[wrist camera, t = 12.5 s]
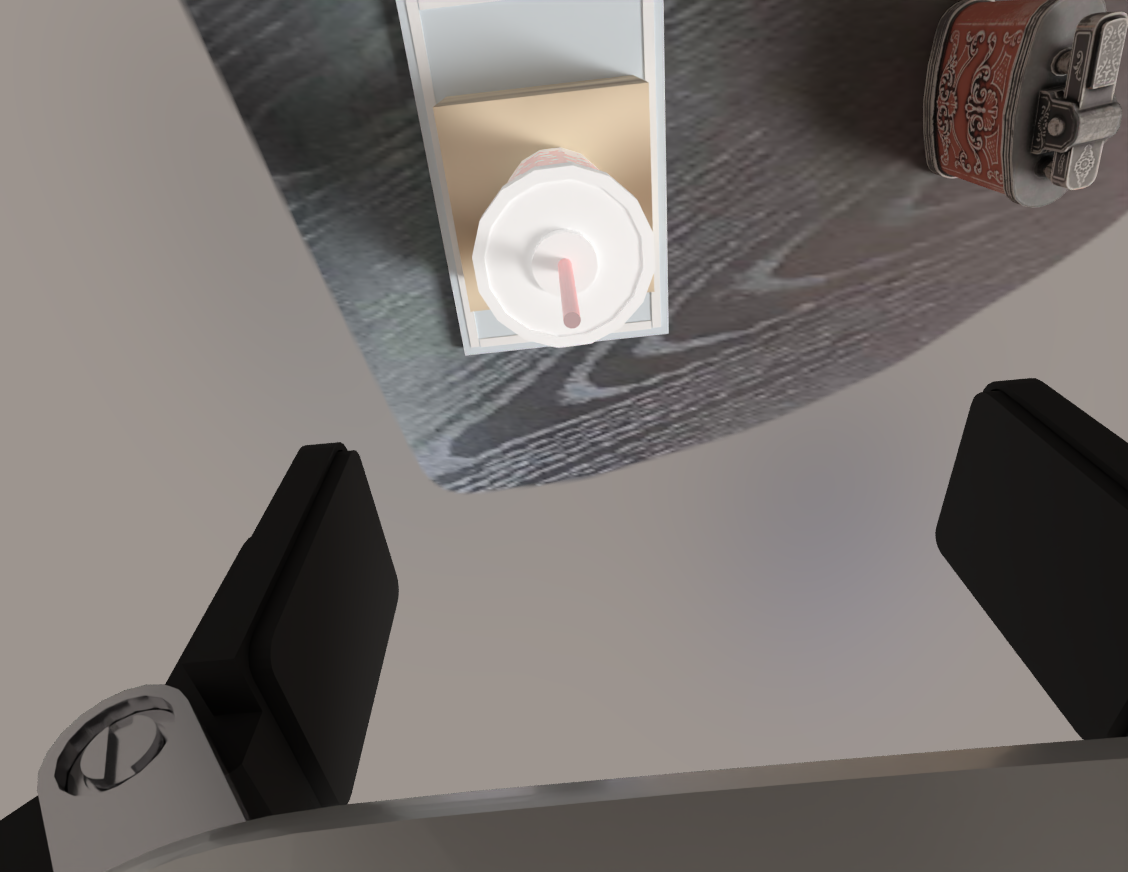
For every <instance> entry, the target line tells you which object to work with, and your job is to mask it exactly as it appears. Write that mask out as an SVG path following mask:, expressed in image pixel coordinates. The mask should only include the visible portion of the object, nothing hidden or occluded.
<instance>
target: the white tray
mask: <svg viewBox="0 0 1128 872" xmlns="http://www.w3.org/2000/svg"><path fill="white" fill-rule="evenodd" d="M396 4H397V9H398V14H399V19H400V25H401V30H402V35H403V40H404V45H405V50H406V55H407V60H408V65H409V70H410V76H411V81H412V86H413V91H414V96H415V101H416V106H417V111H418V116H419V122H420V127H421V132H422V137H423V142H424V147H425V152H426V157H427V162H428V167H429V173H430V178H431V183H432V188H433V193H434V198H435V203H436V208H437V213H438V219H439V224H440V229H441V234H442V239H443V244H444V249H445V254H446V259H447V264H448V270H449V275H450V280H451V285H452V290H453V295H454V300H455V305H456V310H457V315H458V321H459V326H460V331H461V336H462V341H463V346H464V351H465V355H474V354H483V353H493V352H502V351H511V350H520V349H530V348H539V347H548V345H544V344H540V343H536V342H532V341H528V340H525V339H523V338H522V337H520V336H519V335H518V334H516V333H515V332H513V331H512V330H510V329H509V328H508V327H506V326H505V325H503V324H502V323H500V322H499V321H498V320H497V319H496V317H495V316H494V314H493V313H492V311H491V310H482V311H473V312H470V307H469V301H468V296H467V290H466V285H465V280H464V274H463V269H462V263H461V258H460V253H459V247H458V242H457V236H456V231H455V225H454V220H453V215H452V209H451V204H450V198H449V193H448V187H447V182H446V177H445V171H444V166H443V160H442V155H441V149H440V144H439V139H438V133H437V128H436V122H435V117H434V111H433V107H434V106H435V105H436V104H438V103H439V102H440V101H441V100H443V99H444V98H445V97H447V96H456V95H465V94H473V93H482V92H491V91H499V90H508V89H517V88H525V87H534V86H543V85H551V84H560V83H569V82H577V81H586V80H595V79H603V78H612V77H621V76H629V75H634V76H636V77H638V78H640V79H643V80H645V81H647V82H649V109H650V146H651V183H652V221H653V233H654V254H655V271H654V292H647V293H646V296H645V299H644V302H643V303H642V304H641V305H640V307H639V308H638V309H637V310H636V311H635V312H634V313H633V315H632V316H631V317H630V318H629V319H628V320H627V321H626V323H625V324H624V325H623V326H622V327H621V328H620V329H618V330H616V331H614V332H612V333H610V334H608V335H606V336H604V337H603V338H601V339H599V340H597V341H604V340H613V339H622V338H632V337H641V336H650V335H660V334H669V329H668V265H667V201H666V137H665V73H664V9H663V0H396Z"/></svg>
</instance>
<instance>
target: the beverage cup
mask: <svg viewBox="0 0 1128 872" xmlns="http://www.w3.org/2000/svg"><path fill="white" fill-rule="evenodd" d="M472 260H473V265H474V270H475V275H476V281H477V286H478V291H479V293H480V295H481V296H482V298H483V299H484V301H485V302H486V304H487V305H488V307H489V308H490V310H491V311H492V313H493V314H494V316H495V317H496V319H497V320H498V321H499V322H500V323H502V324H503V325H505V326H506V327H508V328H509V329H510V330H512V331H513V332H515V333H516V334H518V335H519V336H520V337H522V338H523V339H525V340H528V341H532V342H536V343H540V344H544V345H548V346H553V347H557V348H560V347H568V346H576V345H584V344H591V343H593V342H595V341H597V340H599V339H601V338H603V337H604V336H606V335H608V334H610V333H612V332H614V331H616V330H618V329H620V328H621V327H622V326H623V325H624V324H625V323H626V321H627V320H628V319H629V318H630V317H631V316H632V315H633V313H634V312H635V311H636V310H637V309H638V308H639V307H640V305H641V304H642V303H643V302H644V299H645V296H646V293H647V291H648V288H649V285H650V282H651V280H652V277H653V274H654V271H655V254H654V233H653V231H652V229H651V227H650V225H649V223H648V221H647V219H646V217H645V215H644V213H643V211H642V209H641V206H640V204H639V202H638V200H637V199H636V198H635V197H634V196H633V195H632V194H631V193H630V192H629V191H627V190H626V189H625V188H624V187H623V186H622V185H620V184H619V183H618V182H617V181H616V180H615V179H613V178H612V177H611V176H610V175H609V174H608V173H606V172H603V171H600V170H599V169H598V168H597V167H596V166H595V165H594V164H592V163H591V162H590V161H589V160H588V159H586V158H585V157H584V156H583V155H582V154H581V153H578V152H574V151H571V150H568V149H564V148H561V147H559V148H551V149H544V150H539V151H537V152H536V153H534V154H532V155H531V156H529V157H528V158H526V159H524V160H523V161H522V162H521V163H520V164H519V166H518V167H517V169H516V170H515V172H514V173H513V174H512V176H511V177H510V179H509V181H508V183H507V184H505V185H504V186H503V187H502V188H501V189H500V191H499V192H498V194H497V195H496V196H495V198H494V199H493V201H492V202H491V204H490V205H489V206H488V208H487V209H486V211H485V212H484V214H483V215H482V217H481V219H480V221H479V226H478V231H477V235H476V240H475V245H474V250H473V255H472Z"/></svg>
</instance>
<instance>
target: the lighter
mask: <svg viewBox="0 0 1128 872" xmlns="http://www.w3.org/2000/svg"><path fill="white" fill-rule="evenodd" d="M1127 27H1128V16H1127V14H1126V13H1124V12H1107V11H1106V6H1105V2H1104V0H1013V1H995V0H962V1H960V2H958V3H956V4H954V5H953V6H952V7H951V8H949V9H948V10H947V11H946V12H945V14H944V15H943V16H942V17H941V19H940V21H939V24H938V26H937V29H936V33H935V37H934V41H933V46H932V50H931V54H930V58H929V63H928V69H927V76H926V84H925V92H924V99H923V135H924V144H925V152H926V160H927V164H928V167H929V169H930V170H931V171H932V172H933V173H935V174H938V175H940V176H943V177H947V178H961V179H963V180H966V181H969V182H972V183H975V184H978V185H980V186H983V187H986V188H989V189H992V190H995V191H997V192H1000V193H1003V194H1005V195H1006V197H1007V198H1008V199H1009V200H1011V201H1012V202H1015V203H1017V204H1020V205H1023V206H1027V207H1030V208H1032V207H1042V206H1044V205H1047V204H1050V203H1052V202H1054V201H1055V200H1057V199H1058V198H1060V197H1061V196H1062V195H1063V194H1064V193H1065V192H1066V191H1067V190H1068V189H1070V190H1077V189H1082V188H1085V187H1088V186H1089V185H1090V184H1092V183H1093V181H1094V180H1095V179H1096V176H1097V173H1098V168H1099V163H1100V158H1101V153H1102V148H1103V143H1105V142H1106V141H1107V140H1108V139H1109V138H1110V137H1112V136H1114V135H1115V134H1116V133H1117V131H1118V129H1119V128H1120V124H1121V119H1122V108H1121V106H1120V104H1119V103H1118V102H1117V99H1116V96H1115V95H1114V90H1115V85H1116V80H1117V75H1118V70H1119V65H1120V61H1121V56H1122V51H1123V46H1124V41H1125V36H1126V31H1127Z"/></svg>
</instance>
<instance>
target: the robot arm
mask: <svg viewBox="0 0 1128 872" xmlns="http://www.w3.org/2000/svg"><path fill="white" fill-rule="evenodd" d="M935 533H936V542H937V545H938V548H939V550H940V552H941V554H942V555H943V556H944V557H945V559H946V560H947V562H948V563H949V564H950V565H951V567H952V568H953V570H954V571H955V572H956V573H957V575H958V576H959V577H960V579H961V580H962V581H963V583H964V584H965V585H966V587H967V588H968V589H969V591H970V592H971V593H972V595H973V596H974V597H975V599H976V600H977V601H978V603H979V604H980V605H981V607H982V608H983V609H984V610H985V611H986V613H987V615H988V616H989V617H990V618H991V620H992V621H993V622H994V624H995V625H996V626H997V628H998V629H999V630H1000V631H1001V633H1002V634H1003V636H1004V637H1005V638H1006V640H1007V641H1008V642H1009V644H1010V645H1011V646H1012V648H1013V649H1014V650H1015V651H1016V653H1017V654H1018V656H1019V657H1020V658H1021V659H1022V661H1023V662H1024V663H1025V664H1026V666H1027V667H1028V669H1029V670H1030V671H1031V672H1032V674H1033V675H1034V677H1035V678H1036V679H1037V680H1038V682H1039V683H1040V685H1041V686H1042V687H1043V689H1044V690H1045V691H1046V692H1047V694H1048V695H1049V697H1050V698H1051V699H1052V701H1053V702H1054V703H1055V704H1056V706H1057V707H1058V708H1059V710H1060V711H1061V712H1062V714H1063V715H1064V716H1065V718H1066V719H1067V720H1068V722H1069V723H1070V724H1071V725H1072V727H1073V728H1074V730H1075V731H1076V732H1077V733H1078V734H1079V736H1080V737H1081V738H1082V739H1084V740H1079V741H1066V742H1053V743H1040V744H1027V745H1014V746H1001V747H990V748H989V747H988V748H975V749H963V750H950V751H938V752H925V753H913V754H901V755H889V756H877V757H865V758H853V759H840V760H828V761H816V762H804V763H792V764H780V765H768V766H756V767H744V768H732V769H720V770H708V771H697V772H684V773H674V774H663V775H651V776H640V777H628V778H616V779H605V780H595V781H583V782H571V783H560V784H549V785H538V786H526V787H515V788H504V789H492V790H481V791H471V792H461V793H451V794H443V795H432V796H423V797H414V798H404V799H395V800H385V801H375V802H367V803H357V804H348V802H349V800H350V797H351V794H352V790H353V785H354V781H355V777H356V773H357V769H358V765H359V760H360V756H361V752H362V748H363V744H364V739H365V735H366V731H367V727H368V723H369V719H370V715H371V710H372V706H373V702H374V698H375V694H376V689H377V685H378V681H379V676H380V673H381V669H382V664H383V660H384V656H385V652H386V647H387V643H388V639H389V635H390V631H391V627H392V623H393V619H394V614H395V610H396V606H397V602H398V592H399V589H398V579H397V575H396V572H395V569H394V565H393V562H392V559H391V556H390V552H389V549H388V546H387V543H386V539H385V536H384V533H383V530H382V527H381V523H380V520H379V517H378V514H377V510H376V507H375V504H374V500H373V497H372V494H371V491H370V488H369V484H368V481H367V478H366V475H365V471H364V468H363V465H362V462H361V459H360V456H359V454H358V453H357V451H355V450H353V451H347V449H346V447H345V446H344V444H342V443H341V442H337V443H327V444H316V445H305V446H302V447H301V448H300V450H299V451H298V453H297V455H296V457H295V458H294V460H293V462H292V464H291V466H290V468H289V469H288V471H287V473H286V475H285V477H284V478H283V480H282V482H281V484H280V486H279V488H278V489H277V491H276V493H275V495H274V496H273V499H272V500H271V502H270V504H269V506H268V507H267V509H266V511H265V513H264V515H263V516H262V518H261V520H260V522H259V524H258V525H257V527H256V529H255V531H254V533H253V534H252V536H251V537H250V538H248V540H247V541H246V542H245V543H244V545H243V546H242V548H241V550H240V551H239V553H238V555H237V557H236V559H235V560H234V562H233V564H232V566H231V568H230V570H229V571H228V573H227V575H226V577H225V578H224V580H223V582H222V584H221V585H220V587H219V589H218V591H217V593H216V594H215V596H214V598H213V600H212V602H211V603H210V605H209V607H208V609H207V611H206V613H205V614H204V616H203V618H202V619H201V621H200V623H199V625H198V627H197V628H196V630H195V632H194V634H193V636H192V637H191V639H190V641H189V643H188V645H187V646H186V648H185V650H184V652H183V654H182V655H181V657H180V659H179V661H178V663H177V664H176V666H175V668H174V670H173V671H172V673H171V675H170V677H169V679H168V680H167V682H166V684H165V685H162V684H160V685H143V686H139V687H135V688H131V689H127V690H124V691H122V692H120V693H118V694H115V695H113V696H111V697H109V698H107V699H105V700H103V701H101V702H100V703H98V704H97V705H95V706H94V707H93V708H91V709H89V710H88V711H86V712H85V713H83V714H82V715H80V716H79V717H78V718H77V719H76V720H75V721H74V722H73V723H72V724H71V725H70V726H69V727H68V728H66V729H65V730H64V731H63V732H62V733H61V734H60V736H59V737H58V739H57V740H56V741H55V742H54V744H53V745H52V747H51V748H50V749H49V750H48V752H47V754H46V756H45V758H44V760H43V763H42V765H41V767H40V770H39V772H38V786H37V792H38V796H36V797H35V798H33V799H32V800H30V801H29V802H27V803H26V804H24V805H23V806H21V807H20V808H18V809H17V810H15V811H14V812H12V813H11V814H9V815H8V816H6V817H5V818H3V819H2V820H0V872H1128V443H1127V442H1126V441H1124V440H1123V439H1122V438H1120V437H1119V436H1117V435H1116V434H1114V433H1113V432H1112V431H1110V430H1109V429H1108V428H1106V427H1105V426H1103V425H1102V424H1101V423H1099V422H1098V421H1096V420H1095V419H1093V418H1092V417H1091V416H1089V415H1088V414H1087V413H1085V412H1084V411H1083V410H1081V409H1080V408H1078V407H1077V406H1076V405H1074V404H1073V403H1071V402H1070V401H1069V400H1067V399H1066V398H1064V397H1063V396H1062V395H1060V394H1059V393H1057V392H1056V391H1055V390H1053V389H1052V388H1050V387H1049V386H1048V385H1046V384H1045V383H1043V382H1042V381H1040V380H1038V379H1036V378H1028V379H1017V380H1006V381H996V382H992V383H990V384H988V385H987V386H986V388H985V389H984V390H983V392H981V393H979V394H977V395H976V396H975V397H974V399H973V401H972V404H971V407H970V411H969V414H968V418H967V421H966V425H965V428H964V432H963V435H962V439H961V442H960V446H959V449H958V453H957V457H956V460H955V463H954V467H953V471H952V474H951V478H950V481H949V485H948V488H947V491H946V495H945V499H944V502H943V506H942V509H941V513H940V516H939V520H938V523H937V527H936V532H935Z"/></svg>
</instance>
